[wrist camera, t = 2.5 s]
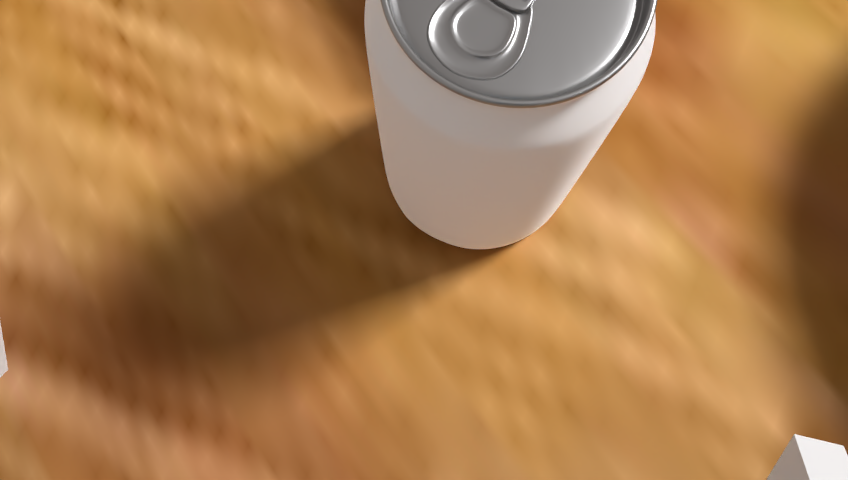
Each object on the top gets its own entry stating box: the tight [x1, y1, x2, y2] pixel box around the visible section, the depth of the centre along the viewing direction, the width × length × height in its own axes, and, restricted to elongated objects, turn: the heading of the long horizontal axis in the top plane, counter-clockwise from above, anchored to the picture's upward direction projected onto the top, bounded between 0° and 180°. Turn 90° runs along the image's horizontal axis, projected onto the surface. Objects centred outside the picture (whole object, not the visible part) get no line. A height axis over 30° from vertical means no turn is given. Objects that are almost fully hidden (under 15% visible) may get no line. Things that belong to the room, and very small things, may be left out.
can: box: [364, 0, 657, 249], centre depth 21 cm, size 6×6×12 cm
